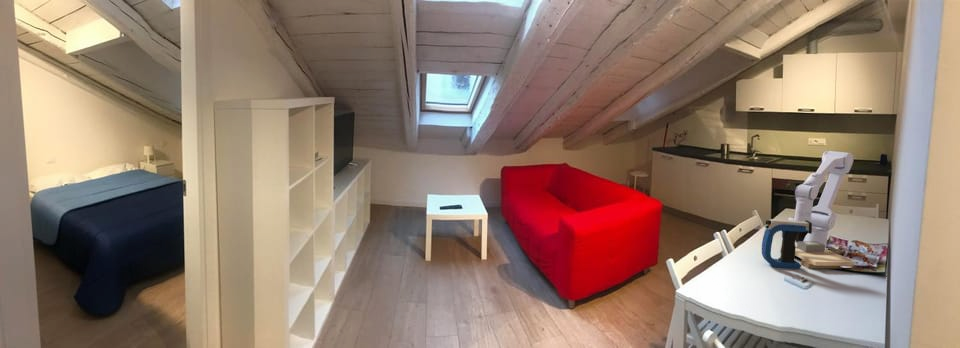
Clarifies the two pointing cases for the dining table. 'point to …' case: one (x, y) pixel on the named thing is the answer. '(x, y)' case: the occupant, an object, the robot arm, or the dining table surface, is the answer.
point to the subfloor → (822, 259)
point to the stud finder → (810, 246)
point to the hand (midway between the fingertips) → (798, 242)
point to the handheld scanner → (783, 241)
